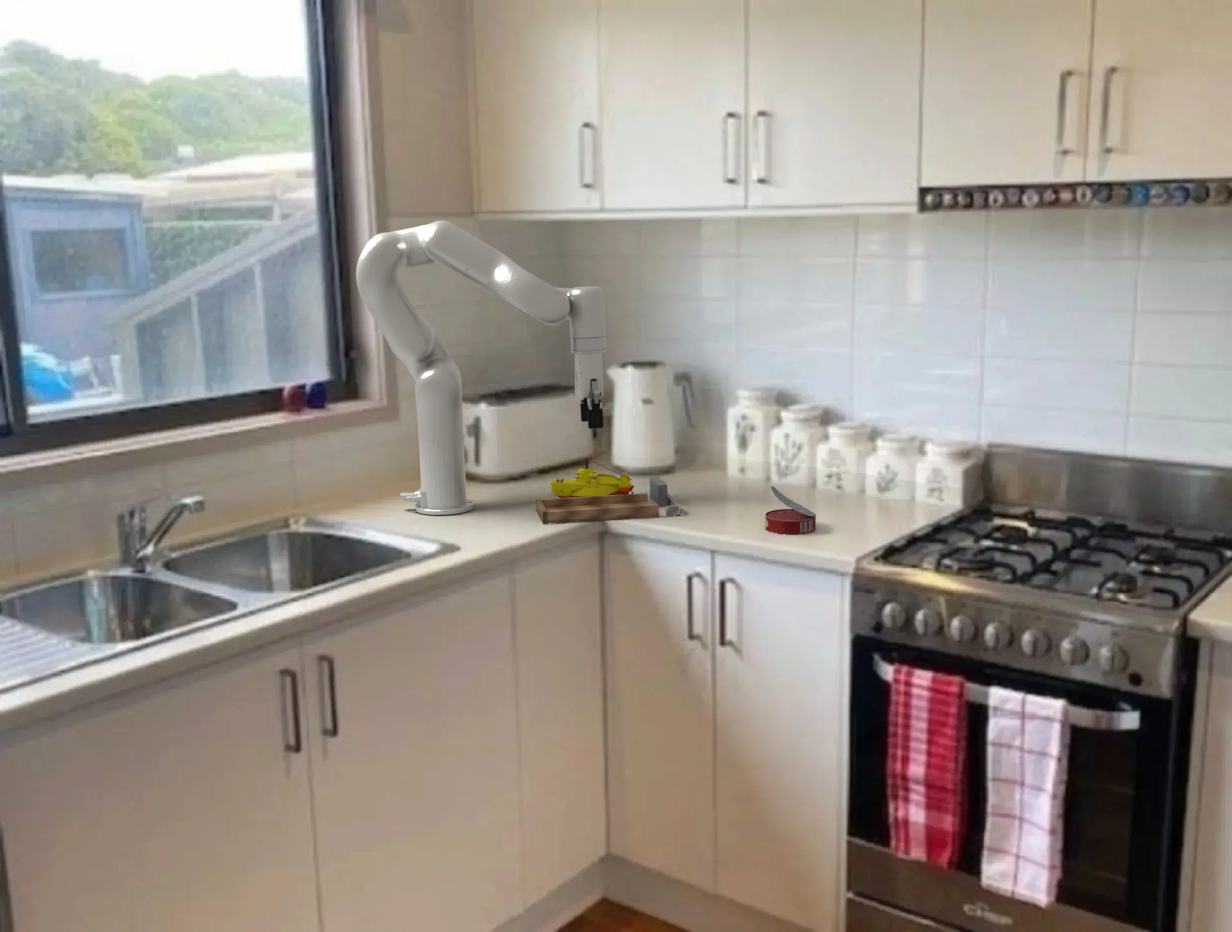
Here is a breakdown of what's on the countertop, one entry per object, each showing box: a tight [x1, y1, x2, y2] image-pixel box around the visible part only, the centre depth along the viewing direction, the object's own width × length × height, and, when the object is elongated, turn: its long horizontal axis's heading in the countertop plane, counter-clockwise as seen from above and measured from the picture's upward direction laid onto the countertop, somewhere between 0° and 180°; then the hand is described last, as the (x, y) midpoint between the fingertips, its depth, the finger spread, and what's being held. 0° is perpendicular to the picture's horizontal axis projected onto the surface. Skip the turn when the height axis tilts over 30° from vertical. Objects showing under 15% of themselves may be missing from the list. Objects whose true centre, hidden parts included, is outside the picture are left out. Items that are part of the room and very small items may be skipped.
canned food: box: [764, 485, 817, 536], centre depth 237 cm, size 11×10×10 cm
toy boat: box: [550, 457, 635, 498], centre depth 262 cm, size 6×18×10 cm, turn 89°
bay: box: [535, 492, 685, 525], centre depth 257 cm, size 30×20×2 cm
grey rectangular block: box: [649, 476, 669, 507], centre depth 262 cm, size 2×9×4 cm, turn 10°
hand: (592, 424), depth 260 cm, fingers open, 9 cm apart
